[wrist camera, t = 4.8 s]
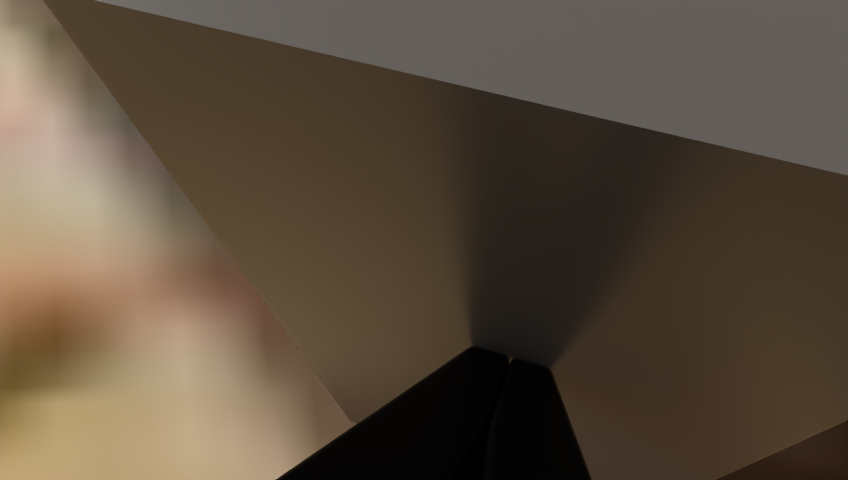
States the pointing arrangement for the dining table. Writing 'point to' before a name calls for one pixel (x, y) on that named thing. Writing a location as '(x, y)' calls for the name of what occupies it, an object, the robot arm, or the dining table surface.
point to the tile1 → (524, 197)
